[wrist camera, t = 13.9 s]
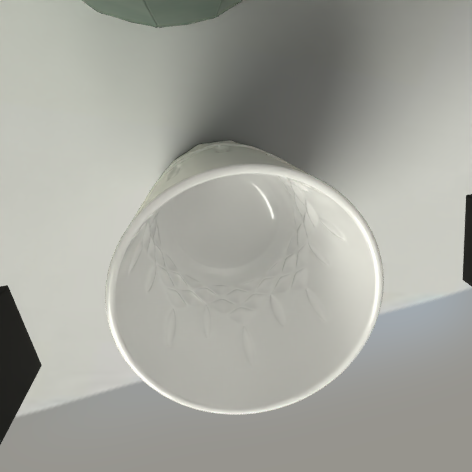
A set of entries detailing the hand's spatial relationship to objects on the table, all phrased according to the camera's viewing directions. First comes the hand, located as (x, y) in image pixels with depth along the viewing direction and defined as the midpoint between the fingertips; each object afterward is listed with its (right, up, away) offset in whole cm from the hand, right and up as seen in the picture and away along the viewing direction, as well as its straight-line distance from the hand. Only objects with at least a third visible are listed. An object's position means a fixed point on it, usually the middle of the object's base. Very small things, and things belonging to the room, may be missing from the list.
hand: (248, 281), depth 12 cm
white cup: (-1, +3, +9) cm, 10 cm away
